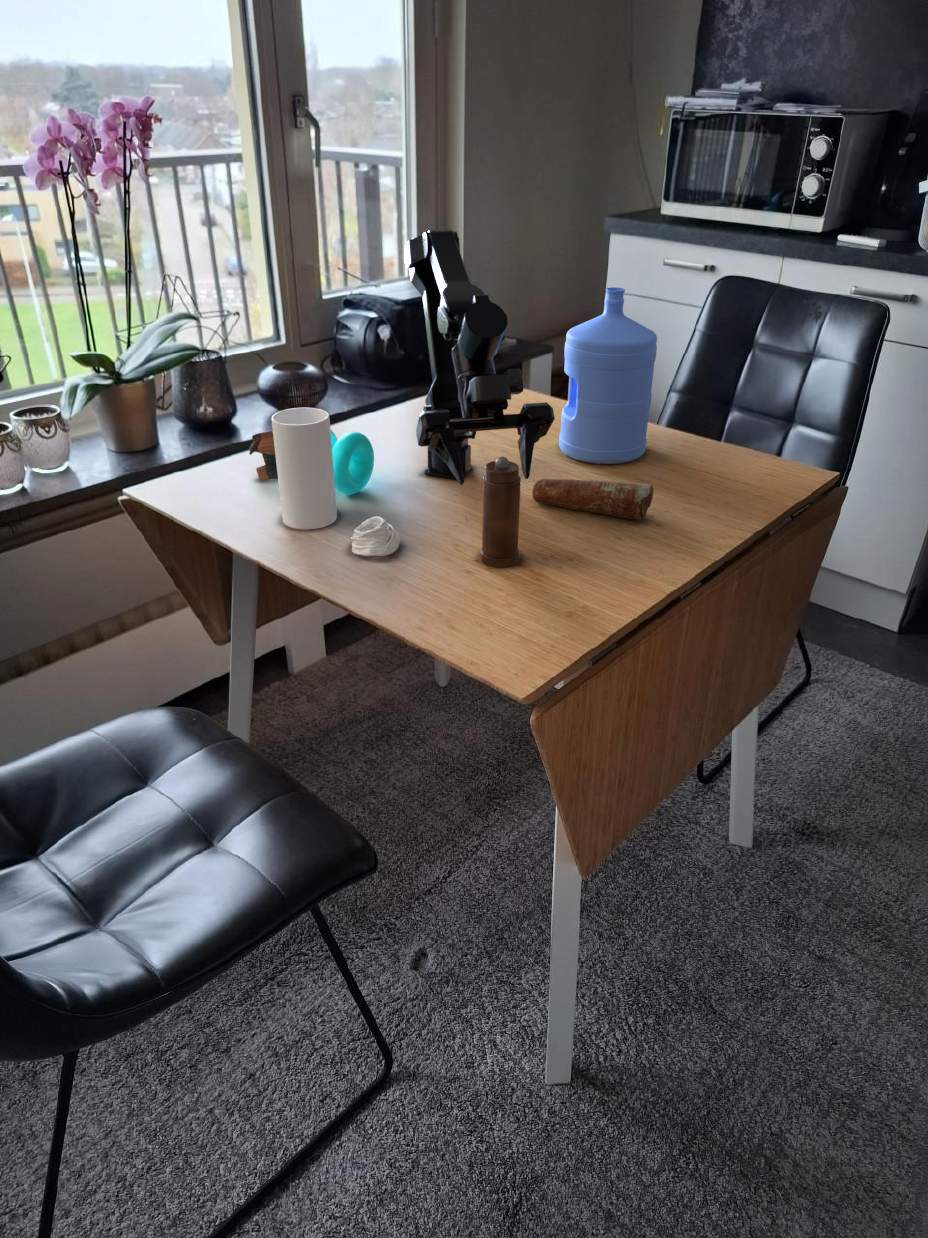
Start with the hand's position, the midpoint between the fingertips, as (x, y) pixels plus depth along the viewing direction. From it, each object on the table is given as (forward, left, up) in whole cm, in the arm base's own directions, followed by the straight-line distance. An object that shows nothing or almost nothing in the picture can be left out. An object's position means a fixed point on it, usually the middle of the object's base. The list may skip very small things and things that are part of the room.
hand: (495, 480), depth 121 cm
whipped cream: (-16, -7, -10) cm, 20 cm away
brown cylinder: (+9, +18, -10) cm, 23 cm away
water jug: (+4, +45, -10) cm, 46 cm away
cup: (-30, -1, -10) cm, 31 cm away
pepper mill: (+2, -3, -10) cm, 11 cm away
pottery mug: (-44, +14, -10) cm, 47 cm away
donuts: (-32, +11, -10) cm, 35 cm away
